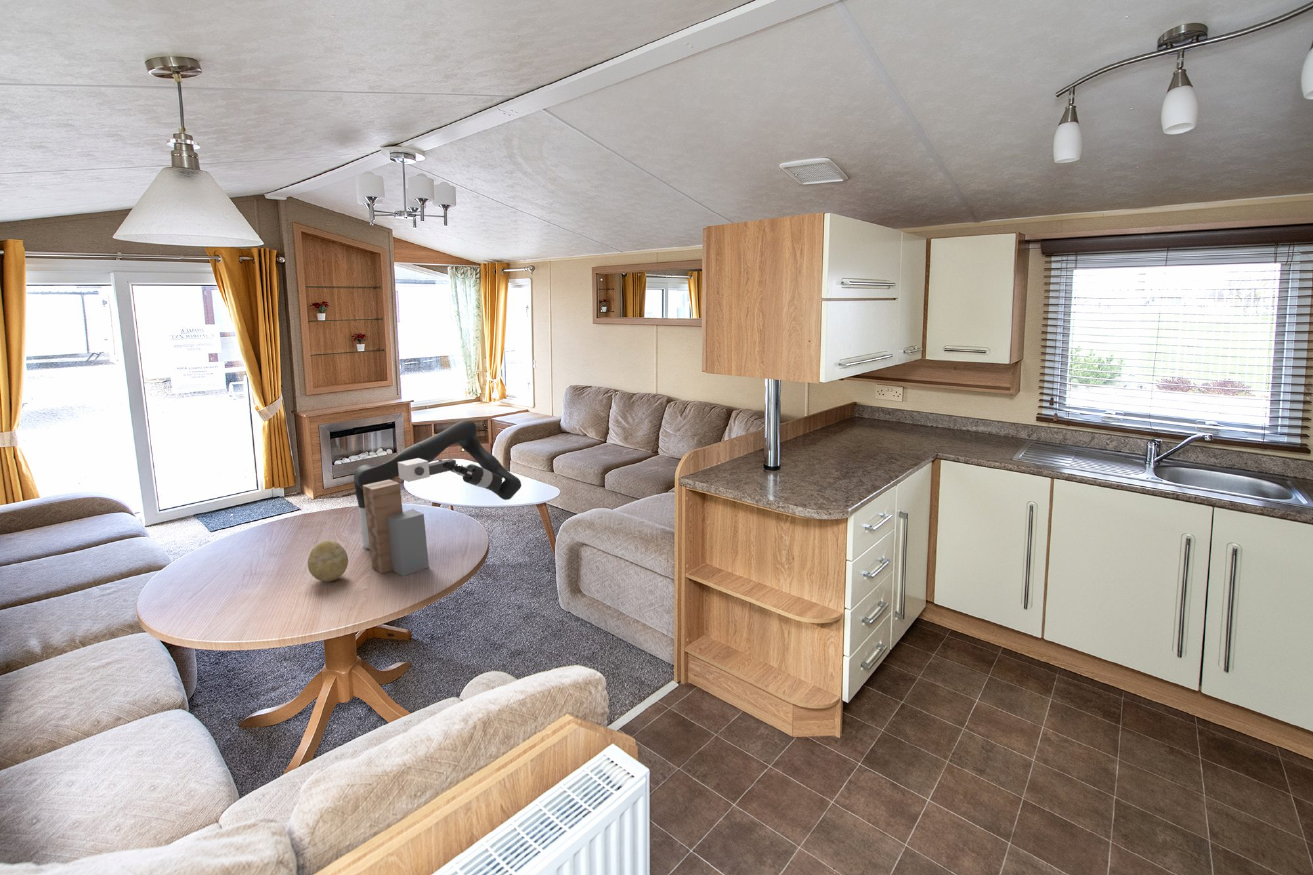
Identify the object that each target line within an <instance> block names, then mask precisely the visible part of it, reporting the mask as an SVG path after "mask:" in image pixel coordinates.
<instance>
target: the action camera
mask: <svg viewBox="0 0 1313 875" xmlns="http://www.w3.org/2000/svg"><path fill="white" fill-rule="evenodd" d="M438 461H439V460H438ZM438 461H435V462H431V463H430V462H429V463H428V461H427V460H423V459H420V458H416V459H411V460H407V461H402V462H398V470H399V476H398V478H399V479H400V480H403V481H405V482H407V483H408V482H409V483H410V482H413V481H419V480H423V479H427V478H430V476H433V475H437V474H442V473H447V472H451V469H448V468H445V467H443V464H444V462H445V461H446V462H449V463H452V464H457V461H456V459H453V458H448V459H445V460H444V459H443V461H439V462H438Z"/></svg>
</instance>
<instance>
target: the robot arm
mask: <svg viewBox="0 0 1313 875" xmlns="http://www.w3.org/2000/svg"><path fill="white" fill-rule="evenodd" d="M455 444H458V446H460V447H461V448H462V449H463V450H464V451H466V453H468V454H469V455H470V456H471V457H472V458H473V459H474V460H475V461H476V462H477V463H478V464H479V466H478V465H476V464H474V463H470V464H467V465H462V464H458V463H456V464H452V463H449V462H446V461H445V462H444V464H443V467H445V468H448V469H451V471H450V472H452V473H453V474H456V475H458V476H462V480H463V482H464V483H467V484H469V485H471V486H475V487H478V488H483V489H486V490H488V491H491V492H492V493H493V494H495V495H497V497H499V498H500V499H502V500H504V501H508V500H511V499H512V498H513V497H514V496H515V495H516V494H517V493H518V491H519V490H520V489H521V487H522V482H521V480H520V478H518V477H517V476H515V475H514V474H513V473H511V472H510V471H508V470H507V469H506V468H505V467H504V466H503V465H502V463H501V462H500V461H499V460H498V458H496V457H495V456H494V455H493V454H491V452H489V451H487V450H486V448H484V447H483V446H482V444H481V441H480V439H479V438H478V427H477V425H476V423H475V422H474V421H472V420H468V419H466V420H461V421H458V422H456V423H455V424H453V425H451V426H450V427H448V428H446V429H444V430H442V431H440V432H439V433H437V434H434V435H432V436H430V437H428V438H426V439H424V440H422V441H419V442H416V443H415V444H412V445H410V446H407V447H406V448H405V449H403V450H401V451H400V452H399V453H397V454H396V455H395V456H394V457H393V458H391V459H390V460H388V461H385V462H383V463H381V464H378V465H376V466H374V465H371V464H363V465H360V466H358V467H357V468H356V469H355V471H354V474H353V479H354V489H355V496H356V501H357V505H358V511H359V522H360V528H361V530H360V531H361V538H362V539H361V540H362V547H363V548H364V549H366V550H370V545H369V537H368V528H367V519H366V511H365V502H364V494H363V485H367V484H371V483H376V482H380V481H385V480H389V479H390V480H392V481H393V480H395V479H396V478H397V477H399V470H398V462H402V461H407V460H411V459H416V458H420V459H423V460H427V461H428V464H430V462H431V463H432V462H433V461H434V460H435V459H437V457H438V456H439V455H441V454H442V453H443V452H444V451H445V450H446V449H447V448H449V447H450V446H452V445H455ZM443 460H444V459H443ZM443 460H442V459H438V461H437V462H439V461H443ZM503 479H504V480H503Z"/></svg>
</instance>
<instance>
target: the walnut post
mask: <svg viewBox="0 0 1313 875" xmlns="http://www.w3.org/2000/svg"><path fill="white" fill-rule="evenodd" d="M400 484H401V483H400V482H398V481H394V480H393V479H392V480H390V479H389V480H385V481H380V482H376V483H371V484H367V485H363V494H364V502H365V511H366V519H367V528H368V537H369V545H370V549H369V554H370V562H371V568H372V569H373V570H375V571H377V572H378V573H381V575H382V574H386V573H388V572H392V571H393V568H392V559H391V550H390V541H389V532H388V523H387V516H390V515H393V514H397V513H401V512H404V511H403V502H402V501H403V499H402V494H401V485H400Z"/></svg>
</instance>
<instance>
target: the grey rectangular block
mask: <svg viewBox="0 0 1313 875" xmlns="http://www.w3.org/2000/svg"><path fill="white" fill-rule="evenodd" d="M424 514H425V513H423V512H420V511H417V510H416V509H408V510H405V511H403V512H401V513H397V514H393V515H390V516H387V523H388V532H389V541H390V550H391V559H392V568H393V570H392V571H393V572H395V573H397V574H399V575H400V576H402V577H405V576H408V575H411V574H413V573H414V574H415V573H416V572H420V571H422V570H426V569H428V568H430V565H429V554H428V545H427V544H428V543H427V533H426V523H425V515H424Z"/></svg>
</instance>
